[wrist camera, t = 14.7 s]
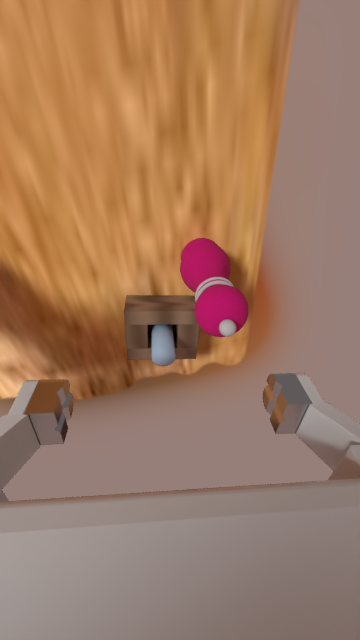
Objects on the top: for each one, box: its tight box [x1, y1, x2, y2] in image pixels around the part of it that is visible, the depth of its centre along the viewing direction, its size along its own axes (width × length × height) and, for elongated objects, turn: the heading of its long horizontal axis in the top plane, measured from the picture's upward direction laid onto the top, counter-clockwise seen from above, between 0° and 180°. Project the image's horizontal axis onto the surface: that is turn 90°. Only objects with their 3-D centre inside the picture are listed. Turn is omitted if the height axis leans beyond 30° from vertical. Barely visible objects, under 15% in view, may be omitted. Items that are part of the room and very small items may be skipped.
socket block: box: [124, 295, 200, 360], centre depth 49 cm, size 12×10×5 cm
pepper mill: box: [180, 238, 248, 337], centre depth 37 cm, size 7×7×20 cm
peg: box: [152, 324, 175, 366], centre depth 47 cm, size 4×4×10 cm
